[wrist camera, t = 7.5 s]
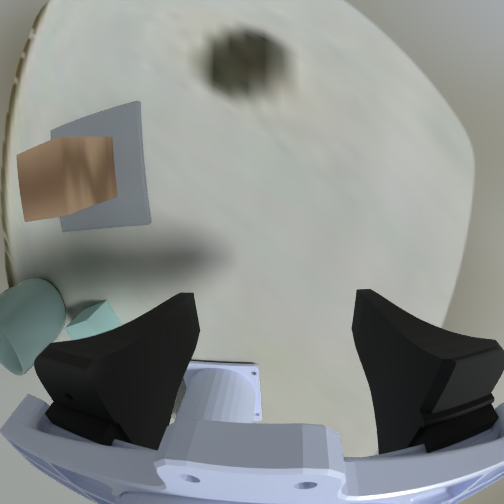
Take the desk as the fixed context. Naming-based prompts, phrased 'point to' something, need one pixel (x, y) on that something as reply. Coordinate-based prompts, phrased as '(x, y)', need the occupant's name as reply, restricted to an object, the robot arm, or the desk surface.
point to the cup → (28, 322)
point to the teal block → (93, 321)
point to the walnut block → (66, 176)
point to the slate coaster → (126, 169)
